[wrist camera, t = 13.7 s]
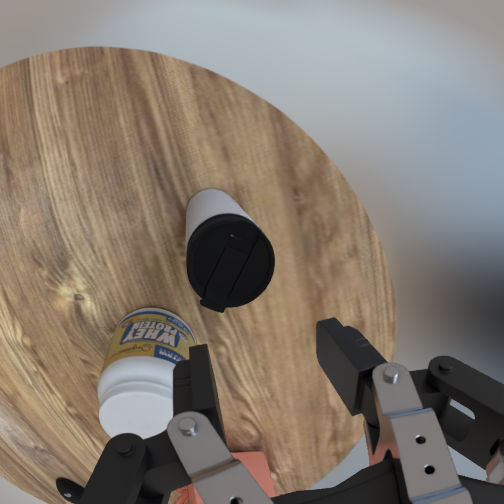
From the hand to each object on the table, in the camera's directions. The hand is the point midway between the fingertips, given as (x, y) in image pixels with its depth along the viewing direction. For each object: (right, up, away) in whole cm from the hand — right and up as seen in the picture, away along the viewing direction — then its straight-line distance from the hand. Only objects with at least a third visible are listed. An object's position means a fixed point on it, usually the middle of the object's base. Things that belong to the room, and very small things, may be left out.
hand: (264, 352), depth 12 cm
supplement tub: (-15, -9, +31) cm, 36 cm away
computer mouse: (-45, -56, +40) cm, 82 cm away
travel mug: (-6, +9, +27) cm, 30 cm away
